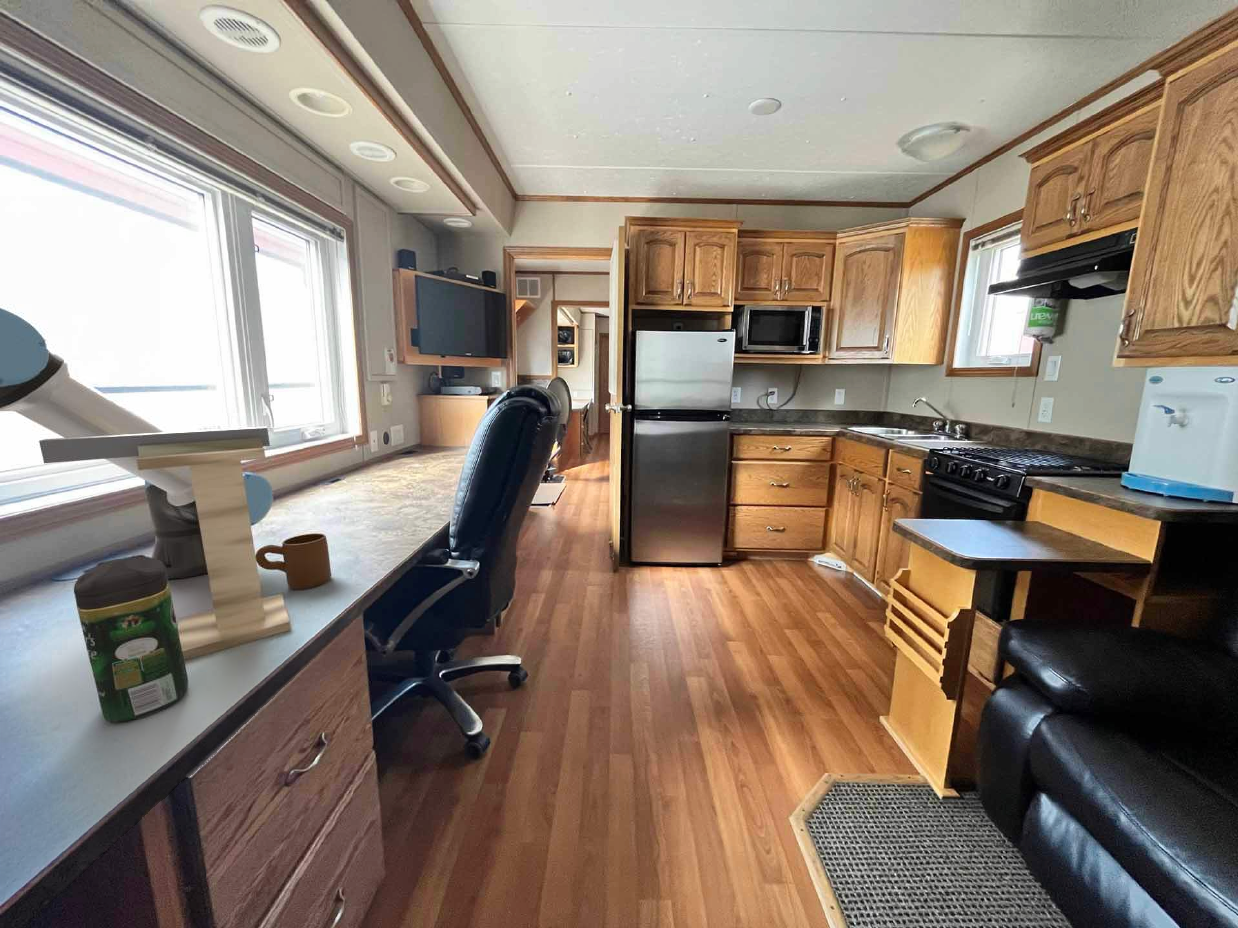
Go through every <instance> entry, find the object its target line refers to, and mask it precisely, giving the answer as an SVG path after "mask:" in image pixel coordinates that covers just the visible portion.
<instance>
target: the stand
mask: <svg viewBox="0 0 1238 928" xmlns="http://www.w3.org/2000/svg"><path fill="white" fill-rule="evenodd" d="M137 447H138V453H139V458H138V459H136V460H137V465H138V470H146V469H157V468H168V467H179V466H189V467H190V473H191V478H192V484H193V490H194V496H195V501H196V507H197V513H198V519H199V524H200V530H201V536H202V542H203V547H204V553H205V559H206V565H207V570H208V573H207V574H208V575H207V576H208V579H209V580H208V581H209V587H210V592H211V593H210V594H211V599H212V604H213V610H209V611H205V612H201V613H196V614H192V615H188V616H184V617H181V618H180V617H179V620H178V624H177V627H178V633H179V638H180V643H181V648H182V652H183V657H184V661H188V660H191V659H194V658H197V657H201V656H205V655H208V654H212V653H216V652H218V651H222V650H226V649H229V648H233V647H237V646H240V645H243V644H247V643H251V642H254V641H258V640H262V639H264V638H267V637H271V636H272V637H273V636H274V635H278V634H281V633H282V634H283V633H286V632H290V631H291V622H290V619H289V614H288V611H287V607H286V604H285V601H284V600H285V599H284V598H283V594H282V593H279V594H276V595H275V594H274V595H270V596H266V597H263V595H262V590H261V583H260V576H259V570H258V563H257V561H256V549H255V544H254V537H253V531H252V526H251V524H250V517H249V511H248V504H247V498H246V491H245V485H244V478H243V472H244V471H243V467H242V462H244V461H254V460H255V461H256V460H265V459H267V458H266V453H265V452H266V451H265V448H264V447H263V444H262V438H249V439H234V440H219V441H204V442H189V443H175V444H160V445H145V446H137Z"/></svg>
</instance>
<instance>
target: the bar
mask: <svg viewBox="0 0 1238 928" xmlns="http://www.w3.org/2000/svg"><path fill="white" fill-rule="evenodd" d="M269 437H270V436H269V429H268V427H267V426H258V427H257V426H256V427H240V428H237V427H236V428H221V429H204V430H202V429H201V430H200V429H199V430H181V431H166V432H164V431H163V433H146V434H128V435H110V436H92V437H74V438H64V437H61V438H60V437H59V438H57V437H56V438H44V439H41V440H40V439H39V441H38V442H39V443H38V444H39V447H40V451H41V452H40V453H41V456H42V460H43V464H53V463H65V462H66V463H68V462H80V461H91V460H106V459H108V458H121V457H134V456H139V453H138V447H137V446H145V445H160V444H175V443H189V442H204V441H219V440H234V439H249V438H262V444H263V448H264V447H271V445H270V438H269Z"/></svg>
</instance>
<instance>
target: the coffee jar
mask: <svg viewBox="0 0 1238 928" xmlns="http://www.w3.org/2000/svg"><path fill="white" fill-rule="evenodd" d="M169 583H170V582H169V579H168V578H167V574H166V566H165V565H163V563H162V561H160V560H158V559H154V558H151V556H150V557H149V556H145V555H144V554H139V555H134V556H128V557H121V558H117V559H111V560H106V561H102V562H99V563H98V564H97V563H96V565H95V566H93V567H92V568H90V569H89V570H87V571H85V572H84V573H82V574H81V575H80V576H79V577H78V578H77V580H76V582H75V583H74V587H73V594H74V598H75V603H76V604H75V605H76V609H77V614H78V618H79V622H80V627H81V629H82V635H83V638H84V642H85V649H86V651H87V655H88V660H89V662H90V666H91V671H92V676H93V678H94V684H95V688H96V691H97V695H98V700H99V701H98V702H99V704H100V705H99V706H100V709H101V713H102V717H103V719H104V720H105V721H107V722H108V723H113V724H114V723H118V722H125V721H133V720H138V719H141V718H144V717H147V716H150V715H153V714H156V713H158V712H160V711H162V710H163V709H165V708H167V707H168V706H170V705H172V704H174V703H175V702H178V701H179V700H181V699H182V698H183V697H184V696H185V694H186V692H187V690H188V685H189V679H188V673H187V668H186V662H185V661H186V660H184V657H183V652H182V648H181V643H180V638H179V633H178V624H177V623H178V622H177V618H176V617H177V616H176V614H175V612H176V611H175V607H174V603H173V602H174V601H173V597H172V593H171V588H170V584H169Z"/></svg>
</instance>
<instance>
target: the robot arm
mask: <svg viewBox="0 0 1238 928" xmlns="http://www.w3.org/2000/svg"><path fill="white" fill-rule="evenodd" d="M67 360H68V359H67V358H66V357H65V356H63V355H62V354H60V353H59V352H57V351H55V350H54V349H52V348H51V347H49V346H48V345H47V343H46V339H45V337H44V336H43V334H42V332H41V331H40V330H39V329H38V328H37V327H36V326H35V325H34V324H33V323H31V322H30V321H29V320H28V319H26V318H24V317H23V316H21V315H19V314H18V313H16V312H14V311H12V310H10V309H7V308H5V307H2V306H0V412H15V413H16V414H19V415H21V416H23V417H24V418H26V419H28V420H30V421H32V422H34V423H36V424H38V425H39V426H42V427H44V428H45V429H47V430H49V431H51V432H53V433H55V434H57V435H58V436H61V438H74V437H92V436H110V435H128V434H146V433H163V432H164V431H163V430H161V429H160V428H158V427H157V426H155V425H154V424H152V423H150V422H149V421H147V420H146V419H144V418H142V417H141V416H139V415H137V414H136V413H134V412H132V411H131V410H130V409H128V408H126V407H124V406H123V405H121V404H120V403H119V402H116V401H115V400H114V399H112V398H110V397H109V396H107V395H105V394H104V393H102V392H101V391H100V390H97V389H96V388H95V387H93V386H91V385H89V384H88V383H86V382H85V381H84V380H82V379H81V378H78V377H77V376H75V375H74V374H72V373H71V372H70V371H69V368H68V361H67ZM138 458H139V456H134V457H121V458H108V459H105V460H106V461H108V462H109V463H111V464H114V465H115V466H117V467H120V469H122V470H125V471H126V472H129V473H131V474H133V475H134V476H136V477H138V478H141V479H142V480H144V491H145V492H146V499H147V503H148V508H149V513H150V518H151V523H152V528H153V533H154V538H155V542H154V546H153V549H152V554H151V556H150V558H154V559H158V560H160V561H162V563H163V565H165V566H166V574H167V578H168V580H175V579H184V578H191V577H196V576H200V575H205V574H208V570H207V565H206V559H205V553H204V547H203V542H202V536H201V530H200V524H199V519H198V513H197V507H196V501H195V496H194V490H193V484H192V478H191V473H190V467H189V466H179V467H168V468H157V469H146V470H138V465H137V460H136V459H138ZM242 472H243V478H244V485H245V491H246V498H247V504H248V511H249V517H250V524H251V527H252V526H255V525H256V524H258V523H260V522H261V521H262V520H263V519H264V518H265V517H266V516H267V515H268V514H269V512H270V510H271V508H272V506H273V502H274V497H273V493H274V492H273V491H274V490H273V487H272V486H271V483H270V481H269V480H268V479H266V478H265V477H264V476H262V475H260V474H258V473H255V472H250V471H242Z"/></svg>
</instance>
